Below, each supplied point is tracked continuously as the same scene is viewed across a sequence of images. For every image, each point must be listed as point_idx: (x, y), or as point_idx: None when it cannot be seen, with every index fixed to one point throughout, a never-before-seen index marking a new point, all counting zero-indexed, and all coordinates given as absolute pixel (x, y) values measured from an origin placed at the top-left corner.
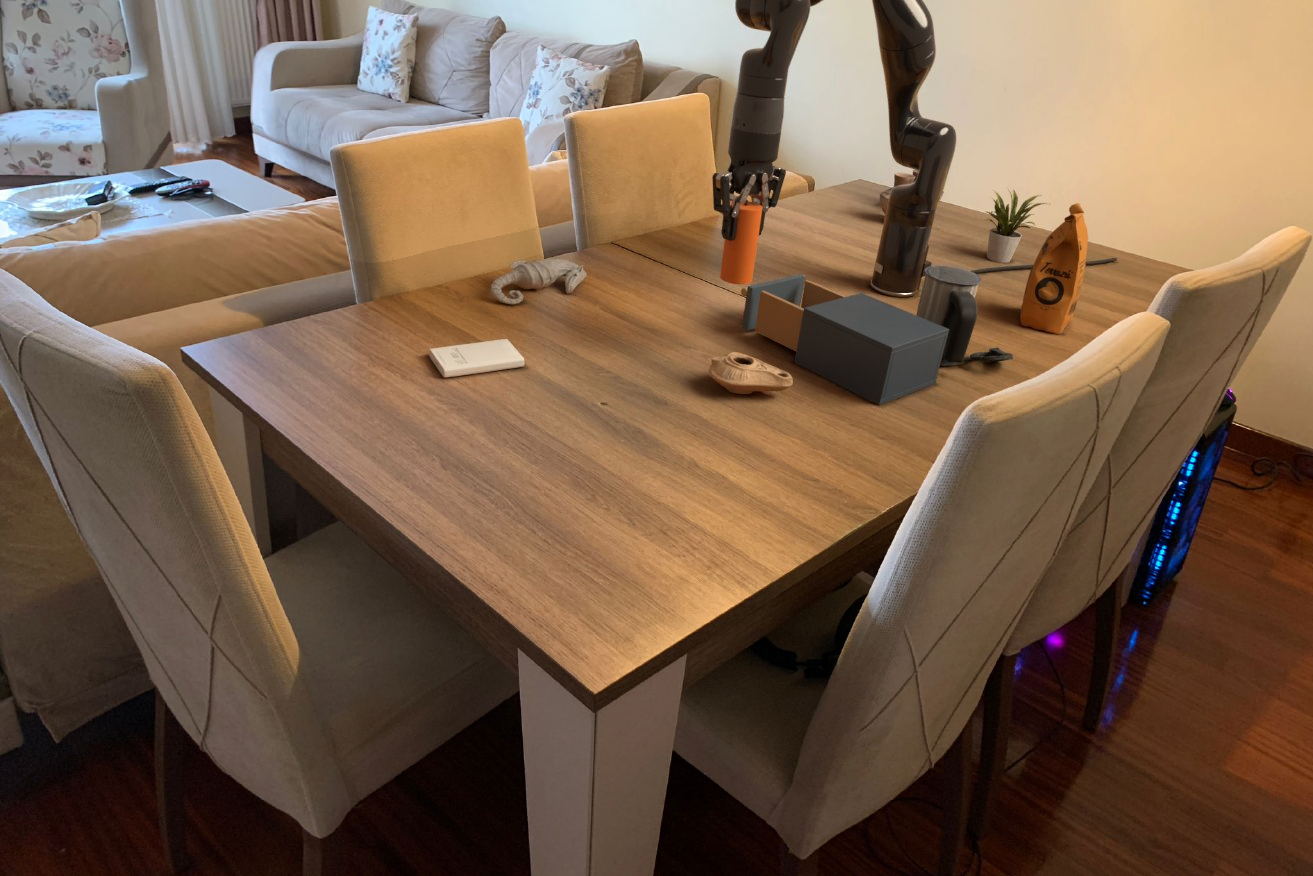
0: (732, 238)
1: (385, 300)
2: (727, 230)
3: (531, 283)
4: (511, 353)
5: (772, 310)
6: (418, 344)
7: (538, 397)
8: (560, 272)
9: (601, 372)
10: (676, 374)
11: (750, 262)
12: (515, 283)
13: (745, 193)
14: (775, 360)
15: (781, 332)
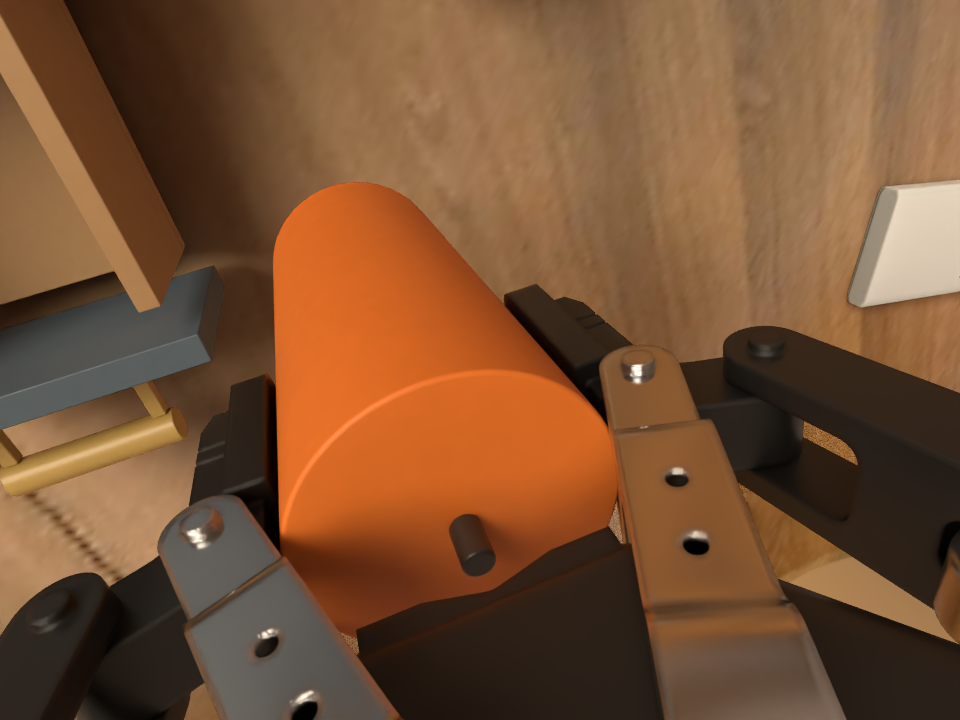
0: (532, 288)
1: None
2: (597, 318)
3: None
4: (903, 225)
5: (128, 202)
6: (950, 338)
7: (950, 15)
8: None
9: (758, 111)
10: (590, 26)
11: (344, 216)
12: None
13: (690, 501)
14: (179, 16)
15: (107, 114)
